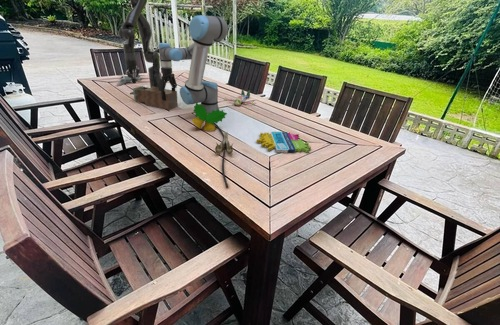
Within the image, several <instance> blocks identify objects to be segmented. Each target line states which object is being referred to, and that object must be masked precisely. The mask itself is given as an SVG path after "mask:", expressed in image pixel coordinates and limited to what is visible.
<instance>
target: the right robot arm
mask: <svg viewBox="0 0 500 325" xmlns="http://www.w3.org/2000/svg"><path fill="white" fill-rule="evenodd" d="M188 26H189V27H188V31H189V35H190V37H191V40H192V43H191V44H189V46H187V47H171V44H170V43H168V42H159V43H158V54H159V57H160V74H161V76H160V82H159V91H161V95H162V100H165V101H166V96H165V91H164V90H165V89H166V86H167V83H169V84H170V86H171V88H170V90H174V91H176V88H177V87H178V84H177V81H176V77H175V73H173V68H172V67H173V62H180V61H187V60H189V61H190V66H189V73H188V77H187V80H185V82H184V86H181V87H180V88H179V96H180V98H181V101H182V102H183V103H184V104H185V105H188V106H189V105H194V104H195V105H196V102H197V103H198V104H201V106H204V109H206V112H208V113H211V112H212V110H214V111H216V110H217V109H219V111H221V110H220V108H219V102H218V99H219V98H218V97H219V88H218V84H217V82H214V81H210V80H204V75H205V70H206V65H207V59H208V56H209V55H208V54H209V50H210V48H211V47H212V46H213V45H214V44H215V43H220V42H221V41H223V40H224V39H225V38H226V37H227V35H228V32H229V27H228V24H227V22H226V20H225V19H224V18H223V17H221V16H218V15H217V16H216V15H204V14H201V15H199V14H198V15H195V16H193V17H192V18H191V20H190V22H189V25H188ZM208 113H207V115H208ZM213 124H214V126H215V127H216V128H217V129H218V130H219V131H220V133H221V135H222V138H223V140H224V133H223V130H222V129H221V128H220V127H219V126H218V124H217V123H213ZM222 152H223V154H222V160H221V169H222V170H221V171H222V178H223V180H224V183H225V186H226V188H229V184H228V182H227V179H226V174H225V157H226V156H225V155H226V149H225V148H224V149H223V151H222Z"/></svg>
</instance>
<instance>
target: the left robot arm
mask: <svg viewBox="0 0 500 325" xmlns="http://www.w3.org/2000/svg"><path fill="white" fill-rule="evenodd" d="M129 2H130V5H131V8H132V9H131V10H130V11H129V12H128V13H127V15H126V18H125V20H124V22H123V23H122V24H121V26H120V27H119V29H118V37H119V38H120V39H121V40H124V41H125V40H127V42H125V43H123V46H122V47H123V53H124V62H125V66H126V71H124V73H125V75H126V76H128V77H129V78H131V79H132V82H131V84H134V85H135V84H137V80H136V77H138V75H140V71H141V70H140V69H139V70H138V63H137V62H138V61H137V56H136V55H137V54H136V51H135V40H136V33H135V31H134V30H135V29H136V26H137V29H138V33H139V36H140V40H141V45H142V51H143V57H144V60H145V61H146V63H150V64H152V66H149V67H148V69H147V71H148V78H149V88H151V87H158V88H159V82H160V76H162V73H161V64H160V55H159V51H158V52H157V51H153V50H151V47H150V42H151V39H152V36H153V33H152V28H151V24H150V22H149V21H148V19H147V18H146V17H145V15H144V14H143V13H142V12H144V9H145V7H146V5H147V2H148V0H129Z"/></svg>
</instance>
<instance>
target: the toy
mask: <svg viewBox="0 0 500 325" xmlns="http://www.w3.org/2000/svg"><path fill="white" fill-rule="evenodd" d="M240 92H241V93H240V95H238V96H237V97H235V99H233V98H230V99H228V98H227V97H226V96H225V97H224V98H223V101H224V102H233V103H232V104H233V105H235V106H242V103H243V104H247V105H252V106H255V105H256V104H257V103H256V102H254V101H253V100H252V101H251V102H250V101H248V100H246V99H248V98H250V97H251V90H250V89H249V90H248V91H247V92H246V93H245V91H244V89H242V90H241V91H240Z"/></svg>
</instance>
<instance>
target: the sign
mask: <svg viewBox="0 0 500 325" xmlns="http://www.w3.org/2000/svg"><path fill="white" fill-rule="evenodd" d="M299 136H300V135H299V134H298V133H296V134H294V133H291V132H287V131H270V132H264V133H263V132H260V133H259V139H258V138H257V139H256V143H257V144H261V148H263V147H264V148H265V149H267V151H268V152H271V151H272V150H273V149H275V152H276V153H283V154H285V153H287V154H288V153H290V154H293V153H296V152H298V153H301V152H305V153H310V151H311V150H312V149H311V148H312V146H309V142H304V141H303V139H302V138H299Z"/></svg>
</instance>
